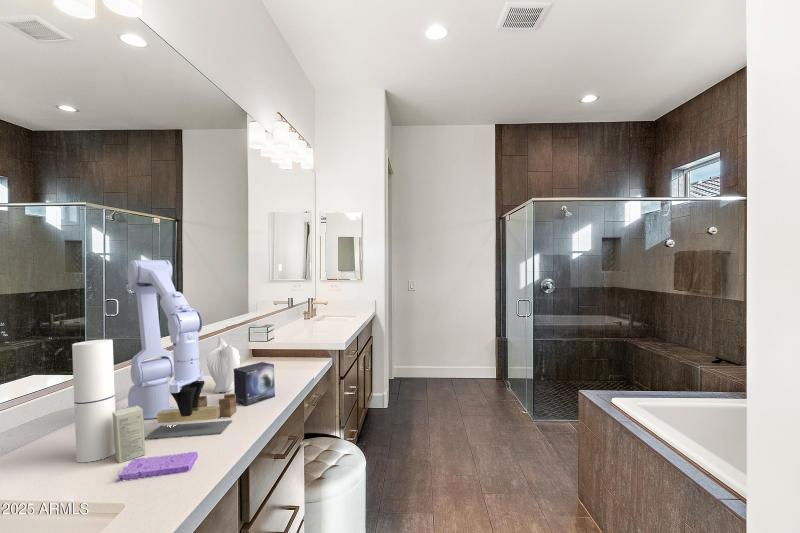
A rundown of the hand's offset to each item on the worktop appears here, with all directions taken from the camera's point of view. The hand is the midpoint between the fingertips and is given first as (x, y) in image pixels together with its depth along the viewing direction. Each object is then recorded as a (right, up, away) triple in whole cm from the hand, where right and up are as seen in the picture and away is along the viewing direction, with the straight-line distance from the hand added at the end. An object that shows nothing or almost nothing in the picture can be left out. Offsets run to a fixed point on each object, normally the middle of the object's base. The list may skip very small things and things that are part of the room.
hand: (189, 413), depth 101 cm
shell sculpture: (-5, -5, +34) cm, 34 cm away
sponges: (+5, -5, -20) cm, 21 cm away
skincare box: (-6, -5, -14) cm, 15 cm away
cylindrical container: (-14, -5, -12) cm, 19 cm away
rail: (0, -1, 0) cm, 1 cm away
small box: (+9, -4, +23) cm, 25 cm away
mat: (0, -4, 0) cm, 4 cm away
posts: (+1, -4, +10) cm, 11 cm away
